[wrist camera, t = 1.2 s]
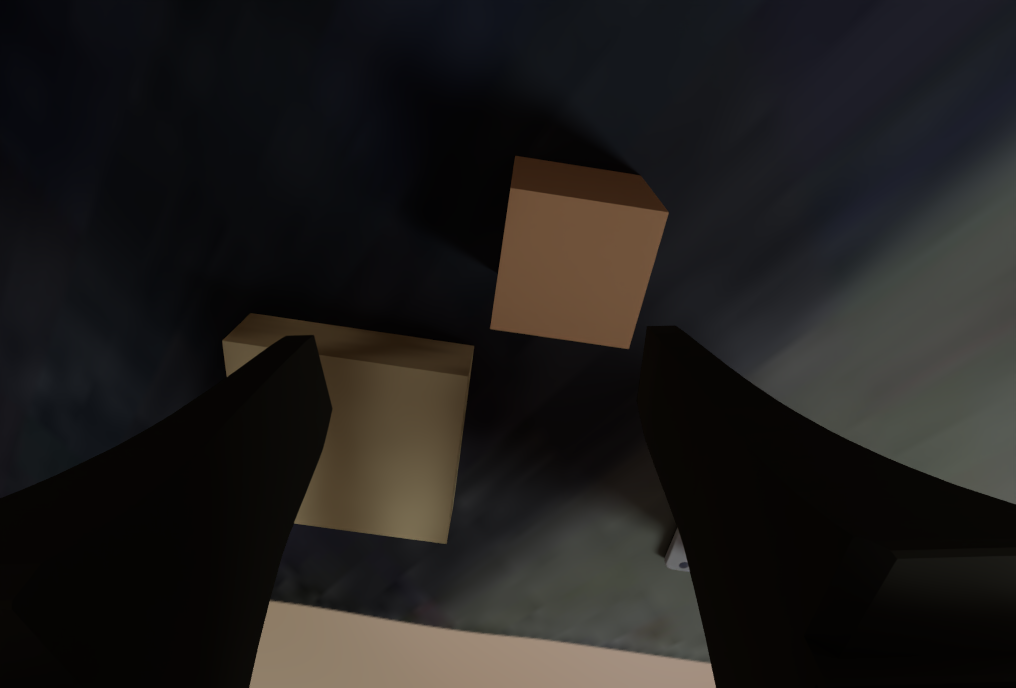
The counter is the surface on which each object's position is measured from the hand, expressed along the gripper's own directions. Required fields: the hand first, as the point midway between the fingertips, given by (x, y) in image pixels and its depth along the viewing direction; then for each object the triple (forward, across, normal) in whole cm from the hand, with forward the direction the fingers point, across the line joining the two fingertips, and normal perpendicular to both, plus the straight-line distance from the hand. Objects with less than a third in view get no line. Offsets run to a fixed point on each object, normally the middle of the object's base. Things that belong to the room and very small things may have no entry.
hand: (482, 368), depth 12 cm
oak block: (+11, +7, +11) cm, 17 cm away
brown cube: (+11, -3, +1) cm, 11 cm away
